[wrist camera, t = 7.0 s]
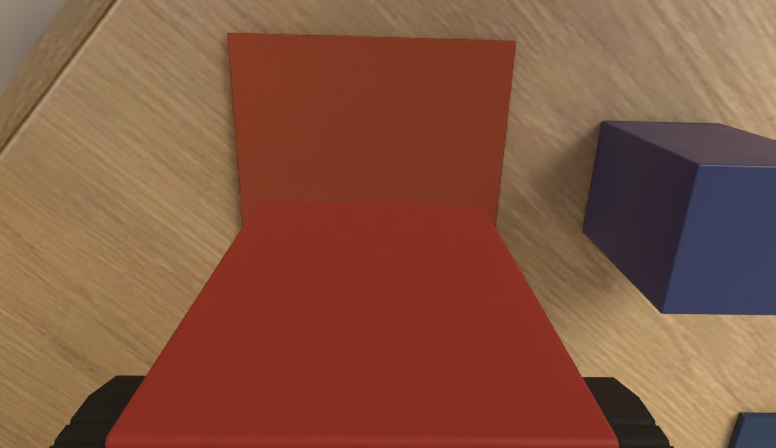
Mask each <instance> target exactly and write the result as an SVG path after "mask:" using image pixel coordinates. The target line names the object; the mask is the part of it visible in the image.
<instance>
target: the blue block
mask: <svg viewBox="0 0 776 448" xmlns="http://www.w3.org/2000/svg"><path fill="white" fill-rule="evenodd" d="M583 233H584V234H585V235H586V236H587V237H588V238H589V239H590V240H591V241H592V242H593V243H594V244H595V245H596V246H597V247H598V248H599V250H600V251H601V252H602V253H603V254H604V255H605V256H606V257H607V258H608V259H609V260H610V261H611V262H612V263H613V264H614V265H615V266H616V267H617V268H618V269H619V270H620V271H621V272H622V273H623V274H624V275H625V276H626V278H627V279H628V280H629V281H630V282H631V283H632V284H633V285H634V286H635V287H636V288H637V289H638V290H639V291H640V292H641V293H642V294H643V295H644V296H645V297H646V298H647V299H648V300H649V301H650V302H651V303H652V304H653V305H654V307H655V308H656V309H657V310H658V311H659V312H660V313H662V314H725V315H776V140H772V139H769V138H766V137H762V136H759V135H756V134H753V133H749V132H746V131H743V130H739V129H736V128H733V127H729V126H726V125H723V124H718V123H676V122H634V121H602V125H601V131H600V136H599V142H598V148H597V153H596V159H595V165H594V170H593V176H592V182H591V187H590V193H589V199H588V204H587V210H586V216H585V221H584V227H583Z"/></svg>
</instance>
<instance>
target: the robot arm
mask: <svg viewBox="0 0 776 448" xmlns="http://www.w3.org/2000/svg"><path fill="white" fill-rule="evenodd" d="M145 377H146V376H115V377H114V378H113V379H111V380H110V381H109V382H107V383H106V384H104V385H103V386H102V387H100V388H99V389H97V390H96V391H95V392H93V393H92V394H91V395H89V396H88V398H87V399H86V400H85V402H84V403H83V404H82V405H81V407H80V408H79V409H78V411H77V412H76V413H75V415H74V416H73V417H72V418H71V420H70V421H71V422H70V424H69V425H66V426H65V428H64V429H63V430H62V431H61V433H60V434H59V435H58V437H57V438H56V439H55V443H54V445H53V446H50V447H49V448H106V447H105V442H106V438H107V435H108V434H109V432H110V430H111V429H112V427H113V426H114V424H115V423H116V421H117V420H118V418H119V417H120V415H121V414H122V412H123V410H124V409H125V407H126V406H127V404H128V403H129V401H130V400H131V398H132V397H133V395H134V394H135V392H136V390H137V389H138V387H139V386H140V384H141V383H142V381H143V380H144V378H145ZM582 378H583V379H584V381H585V383H586V385H587V386H588V388H589V390H590V392H591V393H592V395H593V397H594V398H595V400H596V402H597V404H598V405H599V407H600V409H601V411H602V412H603V414H604V416H605V418H606V419H607V421H608V423H609V424H610V426H611V428H612V430H613V431H614V433H615V435H616V437H617V439H618V442H619V448H674V447H673V446H670V445H669V440H668V439H667V437H666V436H665V434H664V433H663V431H662V430H661V428H660V427H659V426H656V424H655V420H654V418H653V417H652V416H651V414H650V413H649V411H648V410H647V408H646V407H645V405H644V404H643V403H642V401H641V400H640V398H639V397H638V396H637V395H635V394H634V393H633V392H631V391H630V390H629V389H628V388H626V387H625V386H624V385H623V384H621V383H620V382H619V381H617V380H616V379H615V378H614V377H582Z"/></svg>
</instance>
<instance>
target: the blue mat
mask: <svg viewBox="0 0 776 448" xmlns="http://www.w3.org/2000/svg"><path fill="white" fill-rule="evenodd" d="M728 448H776V413H740V415H739V418H738V421H737V424H736V427H735V430H734V433H733V436H732V438H731V441H730V444H729V447H728Z"/></svg>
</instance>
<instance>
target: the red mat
mask: <svg viewBox="0 0 776 448" xmlns="http://www.w3.org/2000/svg"><path fill="white" fill-rule="evenodd" d="M227 35H228V47H229V60H230V72H231V84H232V97H233V109H234V122H235V134H236V147H237V159H238V171H239V184H240V196H241V209H242V221H243V226H244V224H245V223H246V221H247V220H248V218H249V217H250V215H251V213H252V212H253V210H254V209H255V207H256V206H257V204H258V203H260V202H280V203H339V204H398V205H457V206H483V207H484V208H485V210H486V212H487V213H488V215H489V217H490V218H491V220H492V222H493V224H494V225H495V227H496V219H497V209H498V200H499V191H500V182H501V173H502V164H503V155H504V146H505V137H506V128H507V119H508V109H509V100H510V91H511V82H512V73H513V64H514V55H515V46H516V42H515V41H500V40H464V39H428V38H393V37H357V36H321V35H285V34H249V33H228V34H227Z"/></svg>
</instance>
